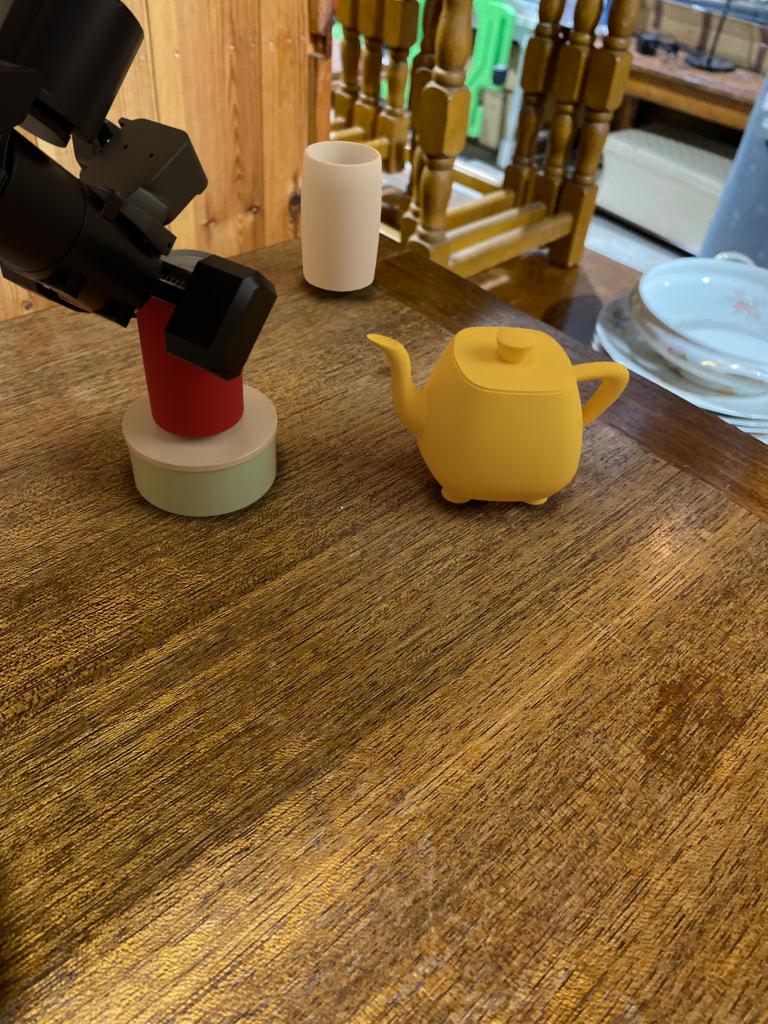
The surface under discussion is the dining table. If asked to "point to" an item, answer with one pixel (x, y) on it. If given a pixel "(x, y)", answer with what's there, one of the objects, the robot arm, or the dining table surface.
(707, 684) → the dining table surface
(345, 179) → the cup
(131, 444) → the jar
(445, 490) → the teapot
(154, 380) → the beverage can
